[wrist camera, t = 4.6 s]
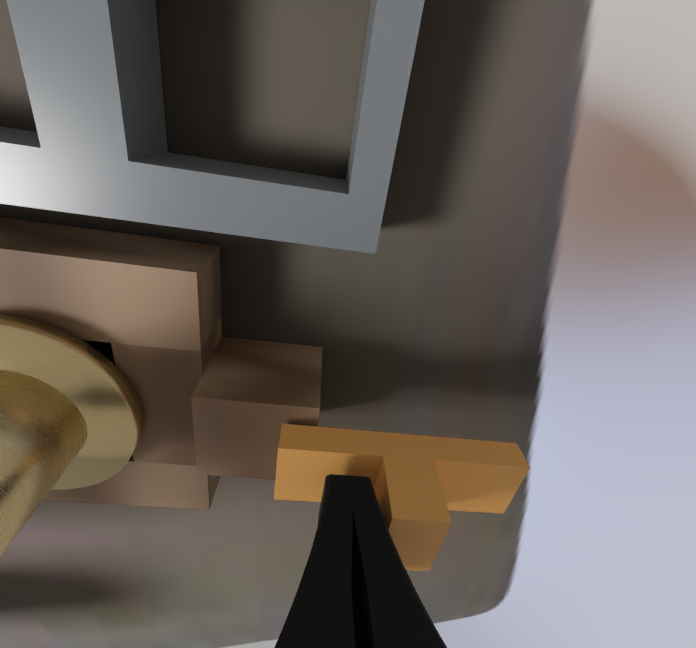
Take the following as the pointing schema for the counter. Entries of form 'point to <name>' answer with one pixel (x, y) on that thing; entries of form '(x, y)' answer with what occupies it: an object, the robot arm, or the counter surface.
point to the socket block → (163, 356)
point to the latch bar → (403, 478)
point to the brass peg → (58, 417)
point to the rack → (151, 141)
